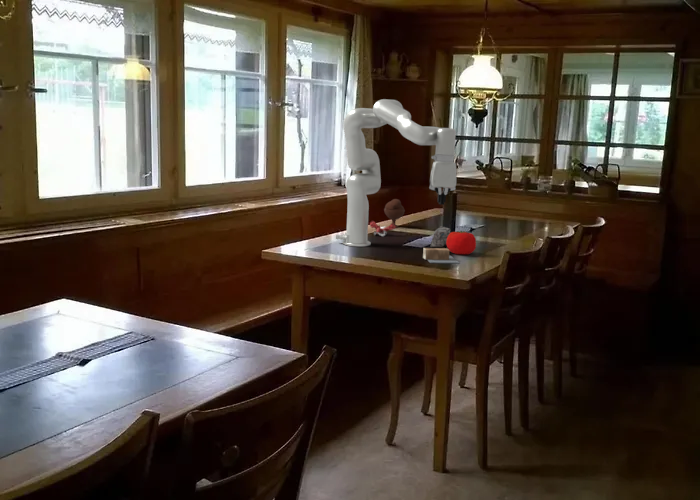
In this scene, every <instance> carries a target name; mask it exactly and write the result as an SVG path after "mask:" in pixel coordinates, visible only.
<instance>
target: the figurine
mask: <svg viewBox="0 0 700 500" xmlns="http://www.w3.org/2000/svg"><path fill="white" fill-rule="evenodd" d="M368 226H370V228H372V229H375V230H376V231H375V230H374V232H373V235H374V236H377V235H379V236H381V237H385V236H386V234H387V233H388V231H393V230H395V229H396V228H395V226H394V223H393V224H392V222H391V223H390V225H388V226H386V225H384V226H380V225H378V224H377V222H375V221H374V220H371V221H369V222H368Z"/></svg>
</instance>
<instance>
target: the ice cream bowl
mask: <svg viewBox="0 0 700 500" xmlns="http://www.w3.org/2000/svg"><path fill="white" fill-rule="evenodd" d="M383 211H384V214H385V215H386V217H387V218H388V219H390V220H391V223H392V224H393V223H394V226H395V229H399V227H400V226H399V225H397V224H396V222H397V220H399V219H401V218H402V217H403V216H404V215H405V212H406V210H405V208H404V206H403V205H402V202H401V200H400V199H398V198H393V199H392V200H391V201H388V202H387V203H386V204H385V205H384V208H383Z"/></svg>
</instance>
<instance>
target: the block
mask: <svg viewBox="0 0 700 500" xmlns="http://www.w3.org/2000/svg"><path fill="white" fill-rule="evenodd" d="M450 252H451V251H450V250H449V249H448V247H446V248H445V247H423V253H422V259H424V260H427V259H428V260H449V255H450ZM428 260H427V261H428Z"/></svg>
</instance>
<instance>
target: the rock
mask: <svg viewBox="0 0 700 500" xmlns="http://www.w3.org/2000/svg"><path fill="white" fill-rule="evenodd" d="M450 233H451V228H449V227H445V226H441V225H440V226H439V227H438V228H437V229H435V231H434V233H433V236H432V239H431V242H430V247H429V248H444V246H447V245H446V241H447V237H448V235H449V234H450Z"/></svg>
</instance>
